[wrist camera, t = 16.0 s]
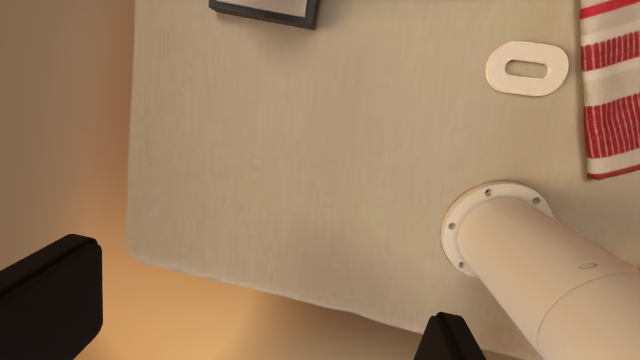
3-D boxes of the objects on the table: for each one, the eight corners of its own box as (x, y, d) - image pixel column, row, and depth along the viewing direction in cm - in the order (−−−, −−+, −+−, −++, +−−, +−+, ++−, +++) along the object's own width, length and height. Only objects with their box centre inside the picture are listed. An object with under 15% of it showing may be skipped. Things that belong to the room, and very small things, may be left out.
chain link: (554, 98, 31) (571, 48, 30) (558, 99, 31) (576, 48, 29) (479, 89, 31) (493, 38, 30) (482, 89, 31) (496, 37, 29)
